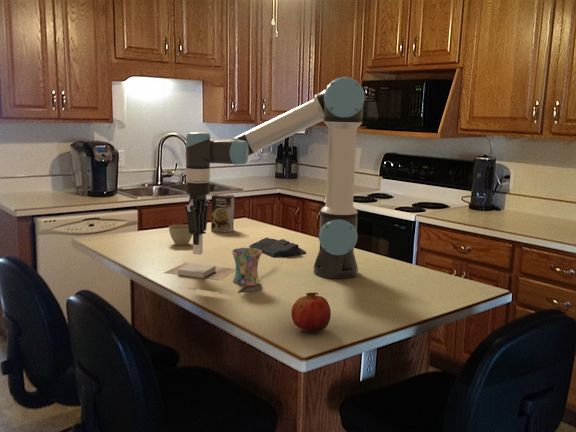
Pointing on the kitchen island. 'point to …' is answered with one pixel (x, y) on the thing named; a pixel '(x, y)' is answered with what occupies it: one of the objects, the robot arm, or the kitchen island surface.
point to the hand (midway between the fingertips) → (197, 253)
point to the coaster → (251, 288)
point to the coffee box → (222, 212)
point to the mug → (246, 266)
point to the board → (216, 275)
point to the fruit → (311, 313)
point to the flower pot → (180, 234)
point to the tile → (196, 270)
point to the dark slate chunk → (278, 248)
